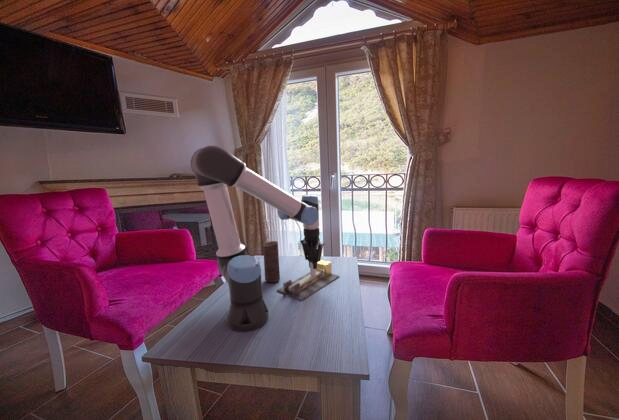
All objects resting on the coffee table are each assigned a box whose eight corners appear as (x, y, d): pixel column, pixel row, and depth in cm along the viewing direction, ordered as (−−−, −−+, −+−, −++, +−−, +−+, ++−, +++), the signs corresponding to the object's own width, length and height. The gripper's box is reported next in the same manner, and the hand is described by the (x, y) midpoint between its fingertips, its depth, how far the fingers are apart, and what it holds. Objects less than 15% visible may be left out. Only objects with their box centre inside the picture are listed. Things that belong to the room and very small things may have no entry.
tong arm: (293, 293, 116) (292, 288, 115) (287, 290, 118) (287, 286, 118) (321, 274, 131) (321, 270, 131) (316, 273, 134) (316, 269, 133)
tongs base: (301, 301, 111) (300, 289, 111) (276, 291, 121) (276, 280, 120) (339, 276, 134) (339, 267, 133) (316, 270, 143) (315, 261, 142)
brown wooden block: (279, 284, 128) (276, 244, 124) (263, 284, 128) (261, 245, 124) (280, 277, 135) (278, 239, 132) (266, 277, 135) (264, 240, 132)
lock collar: (325, 277, 132) (325, 265, 131) (316, 274, 136) (315, 262, 135) (331, 273, 136) (331, 262, 135) (322, 271, 140) (321, 259, 139)
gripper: (327, 227, 123) (328, 274, 127) (305, 224, 131) (308, 268, 136) (317, 231, 117) (319, 280, 122) (295, 227, 126) (298, 273, 130)
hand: (313, 274), depth 129 cm, fingers closed
